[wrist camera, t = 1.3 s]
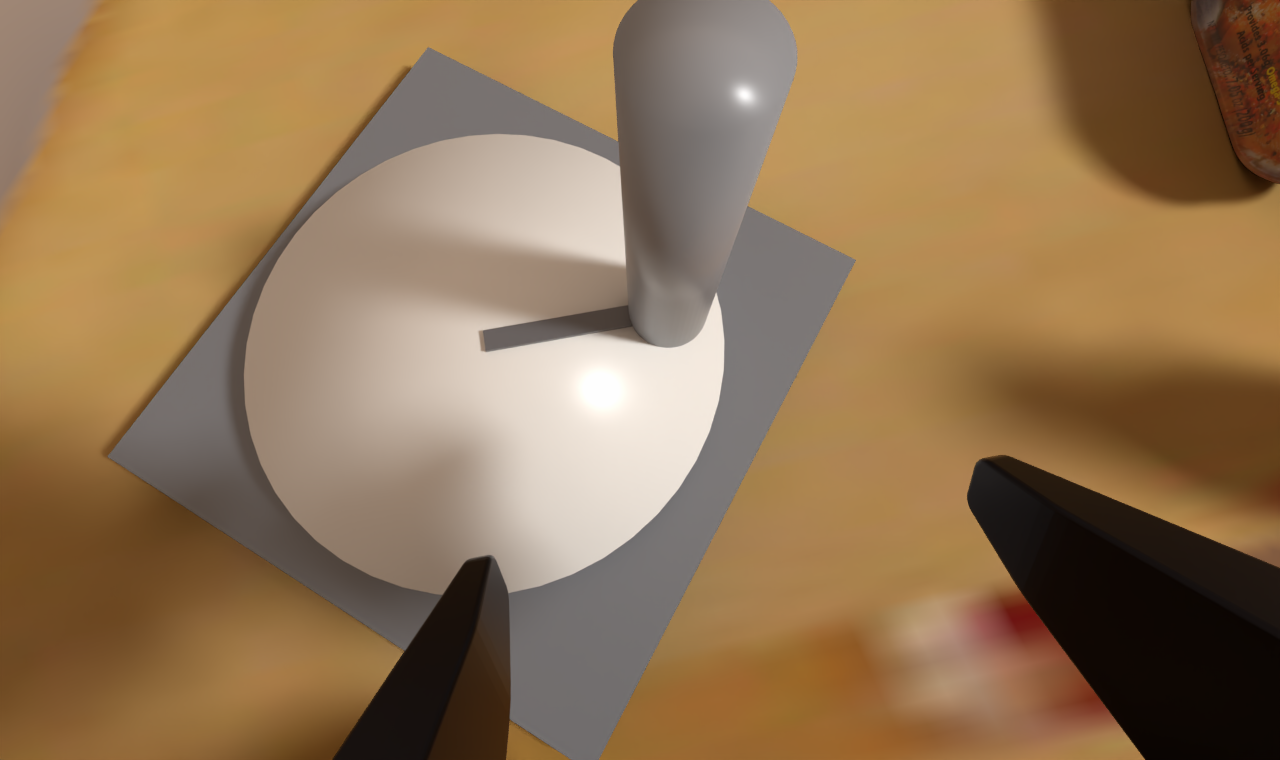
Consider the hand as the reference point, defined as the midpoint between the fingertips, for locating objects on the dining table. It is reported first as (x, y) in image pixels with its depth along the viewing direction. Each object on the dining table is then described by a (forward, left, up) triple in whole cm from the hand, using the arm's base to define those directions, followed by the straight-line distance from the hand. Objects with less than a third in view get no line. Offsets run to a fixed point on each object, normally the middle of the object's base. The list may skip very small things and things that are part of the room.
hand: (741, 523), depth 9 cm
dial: (+2, +10, -12) cm, 15 cm away
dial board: (+2, +10, -14) cm, 17 cm away
